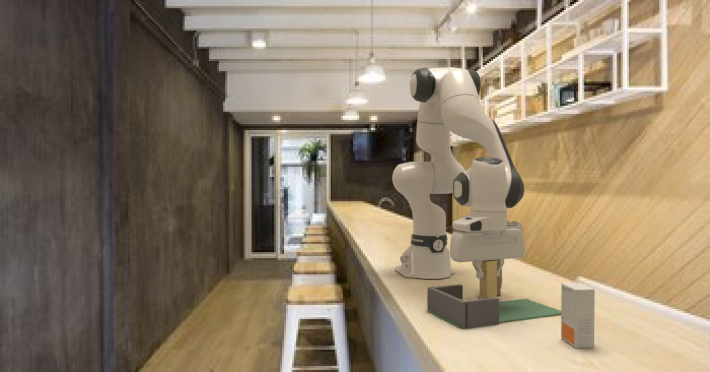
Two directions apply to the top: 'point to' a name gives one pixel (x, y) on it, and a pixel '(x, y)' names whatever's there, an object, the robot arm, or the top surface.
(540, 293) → the top surface
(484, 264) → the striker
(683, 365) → the top surface
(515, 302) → the pitch
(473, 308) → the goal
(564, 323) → the skincare box
